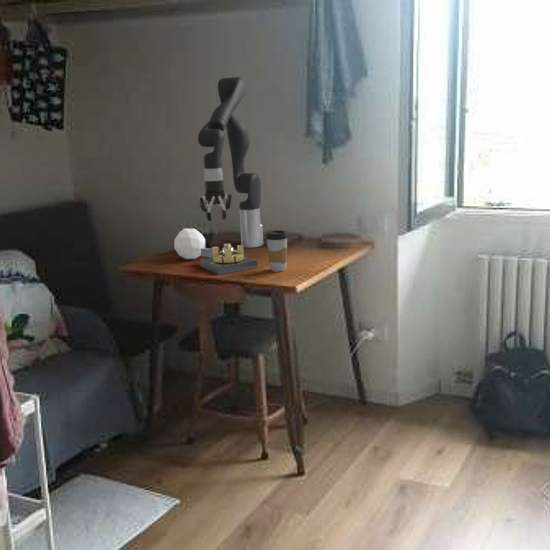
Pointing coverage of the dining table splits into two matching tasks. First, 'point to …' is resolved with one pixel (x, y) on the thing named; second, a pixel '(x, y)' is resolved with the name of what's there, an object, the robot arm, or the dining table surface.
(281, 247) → the coffee cup
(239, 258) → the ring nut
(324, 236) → the dining table surface
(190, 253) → the geodesic sphere
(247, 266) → the housing
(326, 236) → the dining table surface
